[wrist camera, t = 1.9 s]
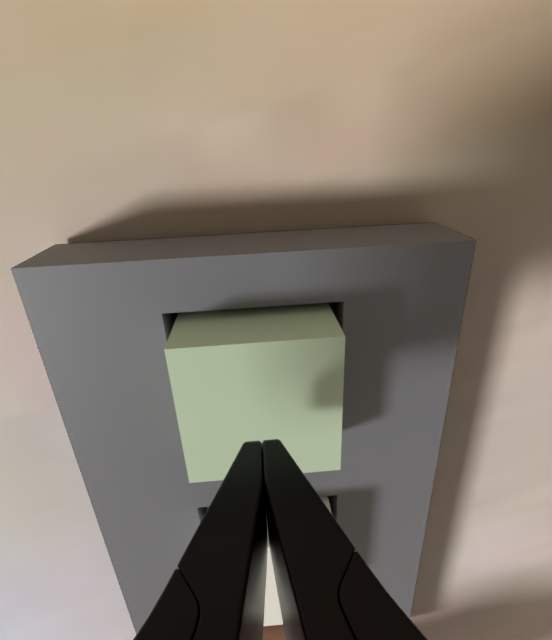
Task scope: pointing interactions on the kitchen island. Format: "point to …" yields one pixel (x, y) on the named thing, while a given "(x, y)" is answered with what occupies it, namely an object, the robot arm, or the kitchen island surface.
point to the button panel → (247, 292)
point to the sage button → (257, 385)
